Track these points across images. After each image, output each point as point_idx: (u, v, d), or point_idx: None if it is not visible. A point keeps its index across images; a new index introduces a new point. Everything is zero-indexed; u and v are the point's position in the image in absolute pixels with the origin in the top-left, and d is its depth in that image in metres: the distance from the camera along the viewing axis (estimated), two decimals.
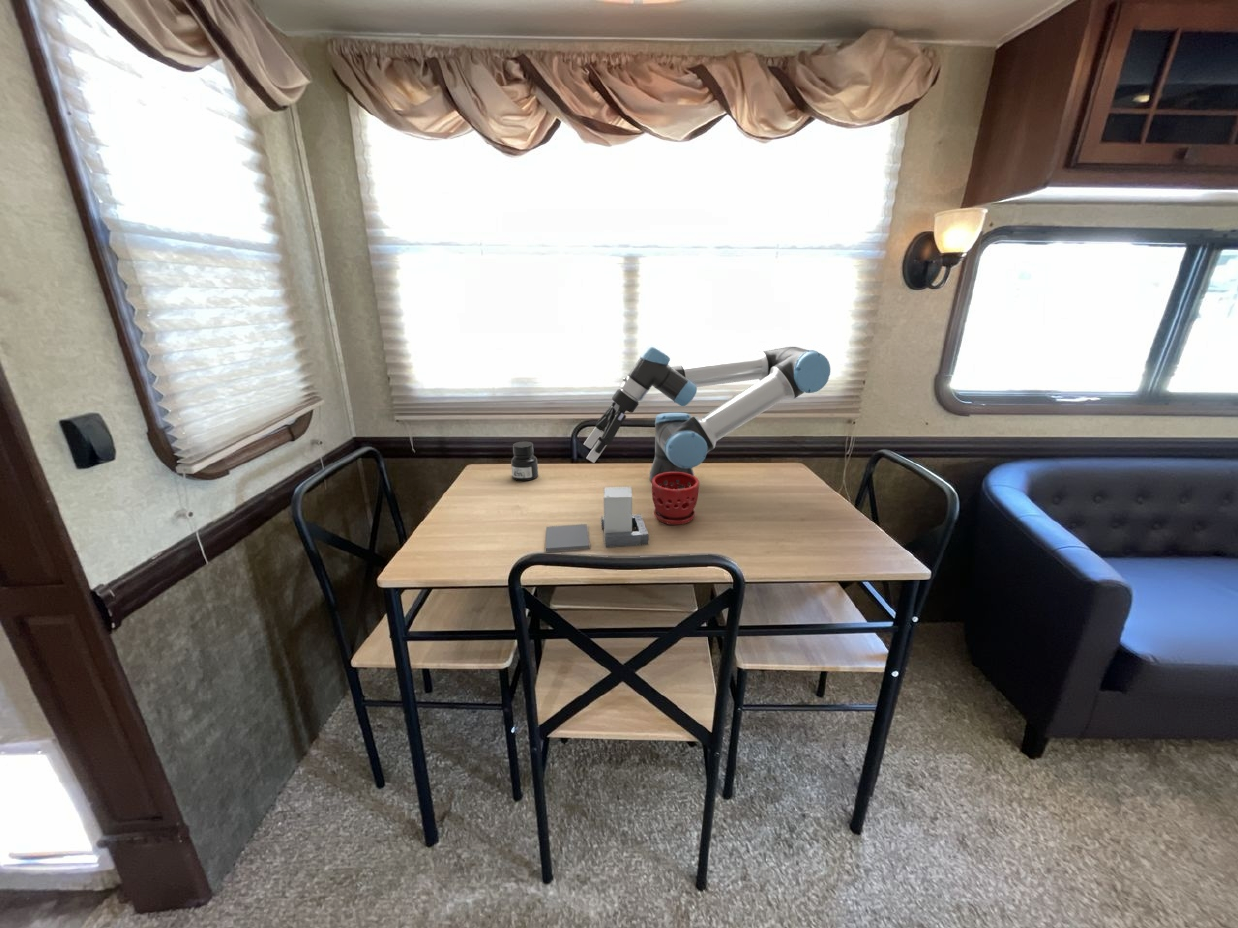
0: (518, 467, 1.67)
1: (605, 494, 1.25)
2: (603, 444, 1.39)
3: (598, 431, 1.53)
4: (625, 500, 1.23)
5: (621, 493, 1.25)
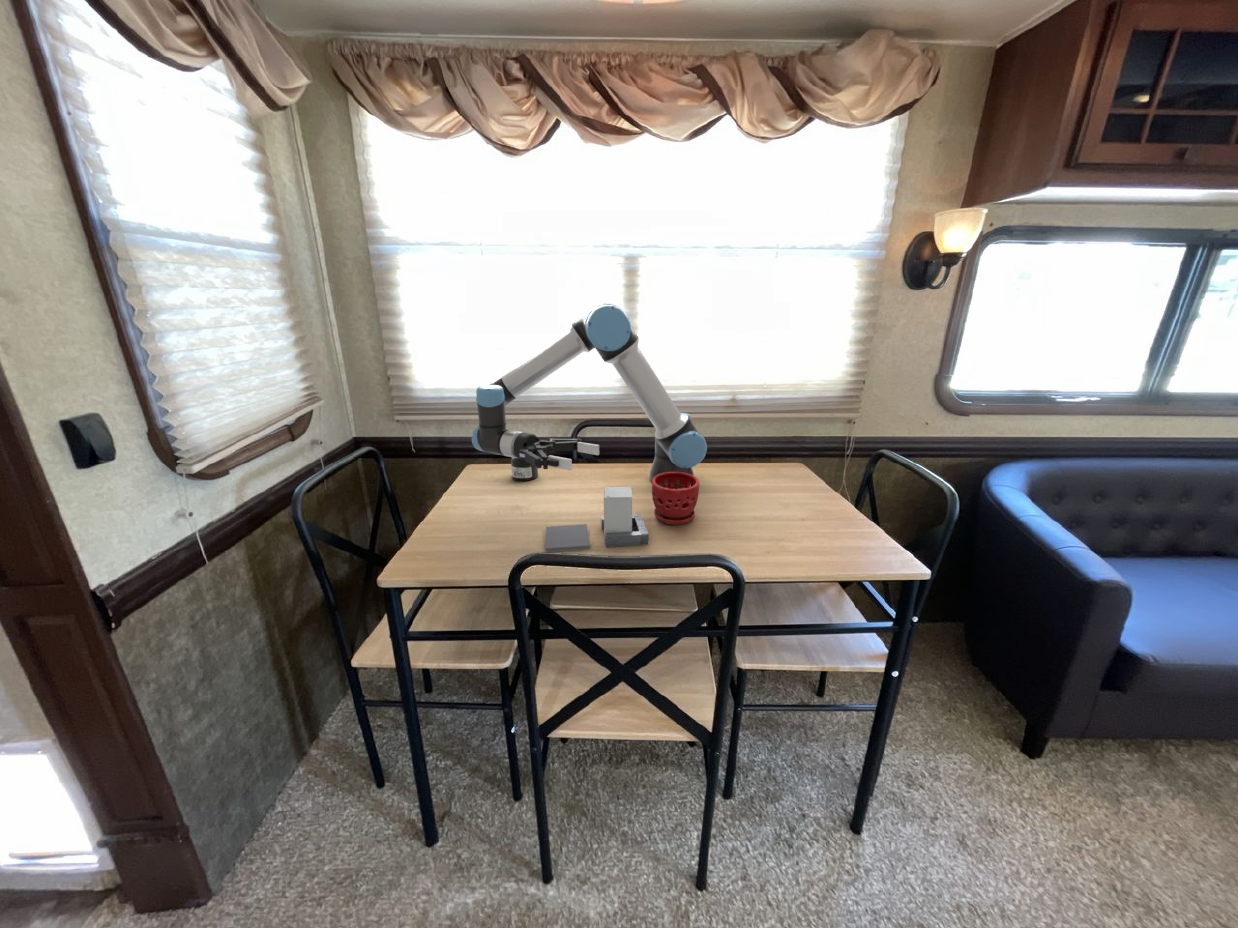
0: (518, 467, 1.67)
1: (605, 494, 1.25)
2: (546, 462, 1.24)
3: (579, 446, 1.36)
4: (625, 500, 1.23)
5: (621, 493, 1.25)
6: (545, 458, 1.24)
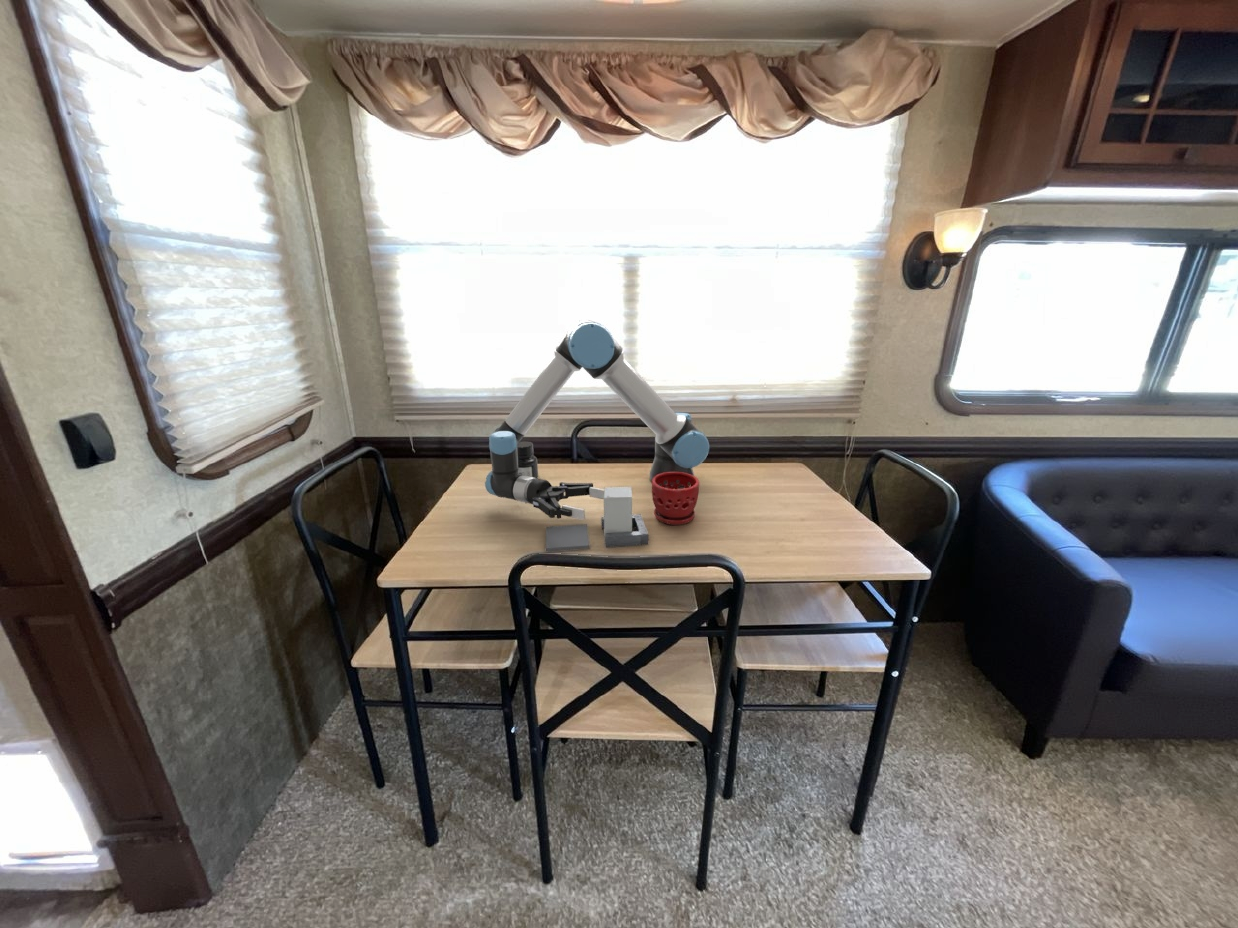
0: None
1: (605, 494, 1.25)
2: (559, 511, 1.26)
3: (590, 492, 1.38)
4: (625, 500, 1.23)
5: (621, 493, 1.25)
6: (558, 508, 1.26)
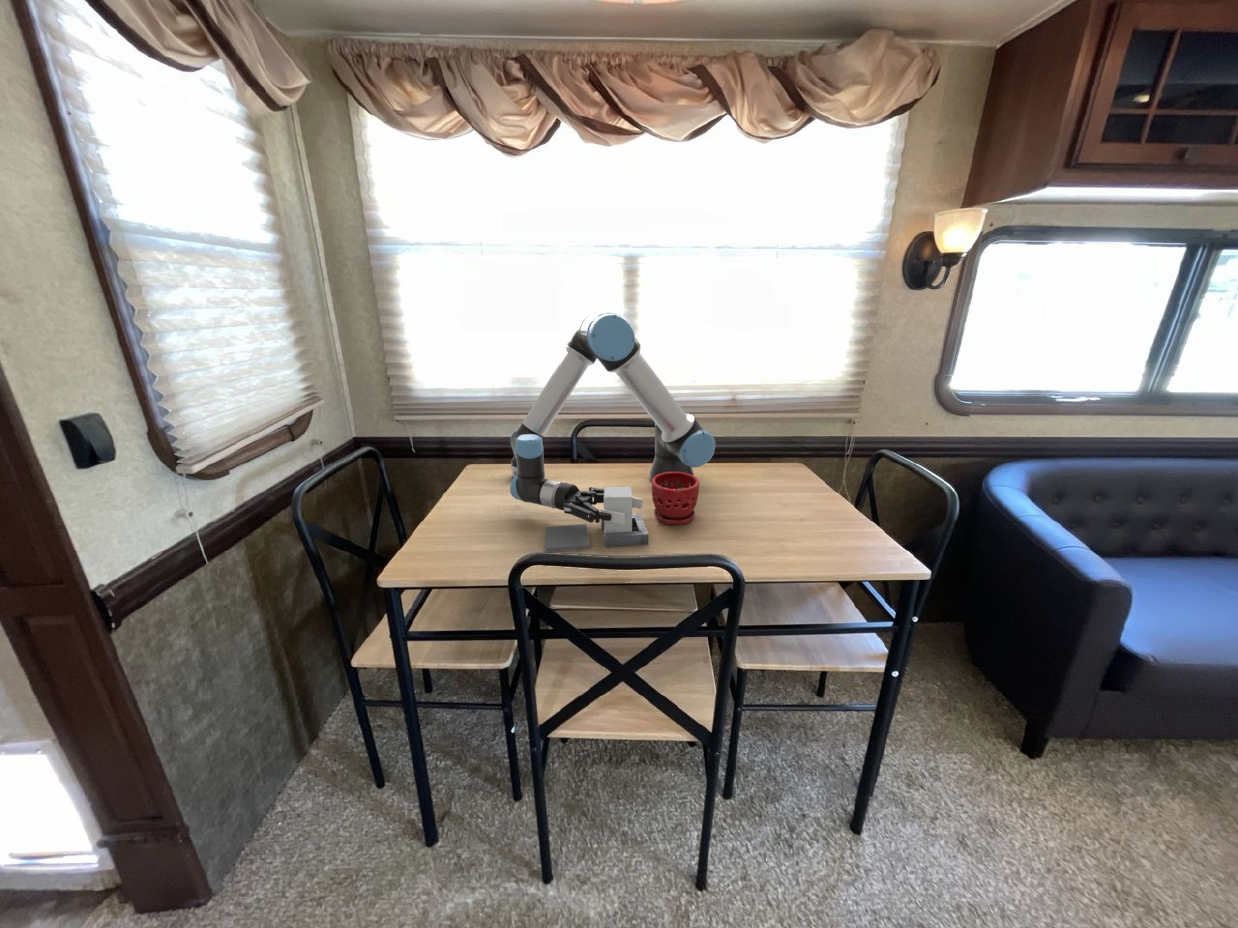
0: None
1: (605, 494, 1.25)
2: (598, 516, 1.23)
3: None
4: (625, 500, 1.23)
5: (621, 493, 1.25)
6: (597, 512, 1.23)
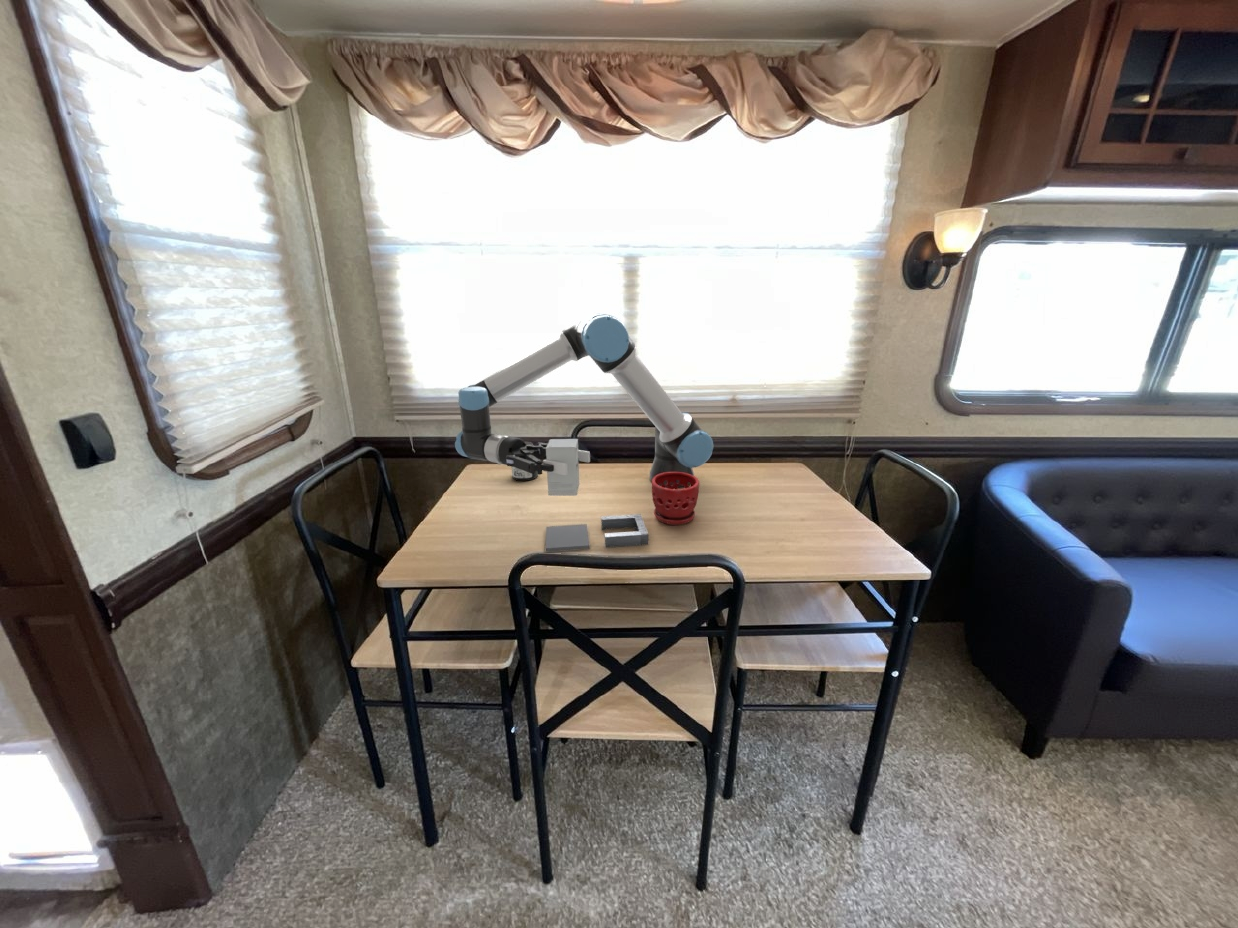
0: None
1: (548, 444, 1.19)
2: (540, 467, 1.17)
3: None
4: (569, 450, 1.17)
5: (565, 444, 1.19)
6: (539, 463, 1.17)
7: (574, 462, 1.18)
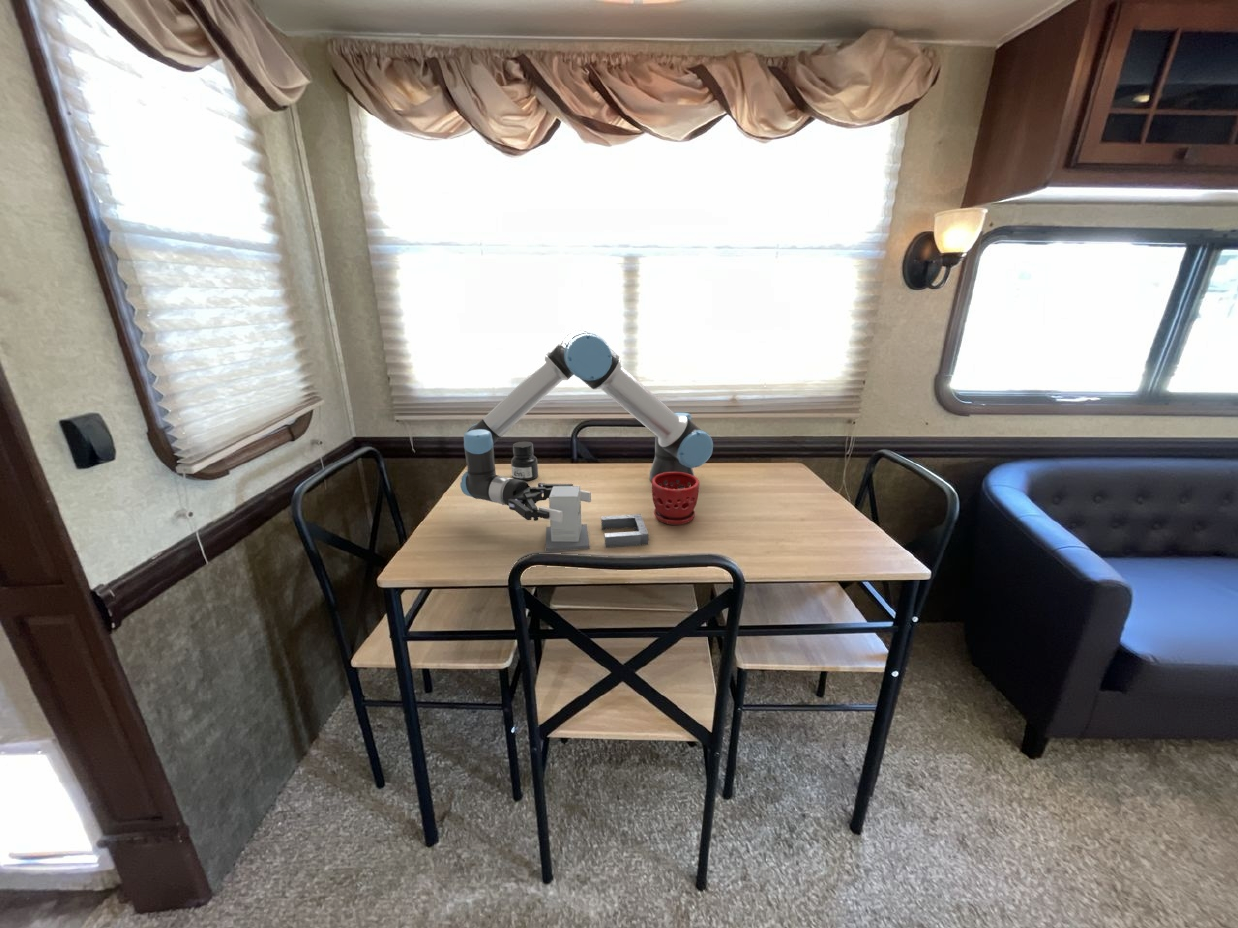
0: (518, 467, 1.67)
1: (551, 493, 1.23)
2: (536, 513, 1.20)
3: None
4: (571, 499, 1.22)
5: (567, 492, 1.23)
6: (535, 510, 1.20)
7: (576, 510, 1.23)
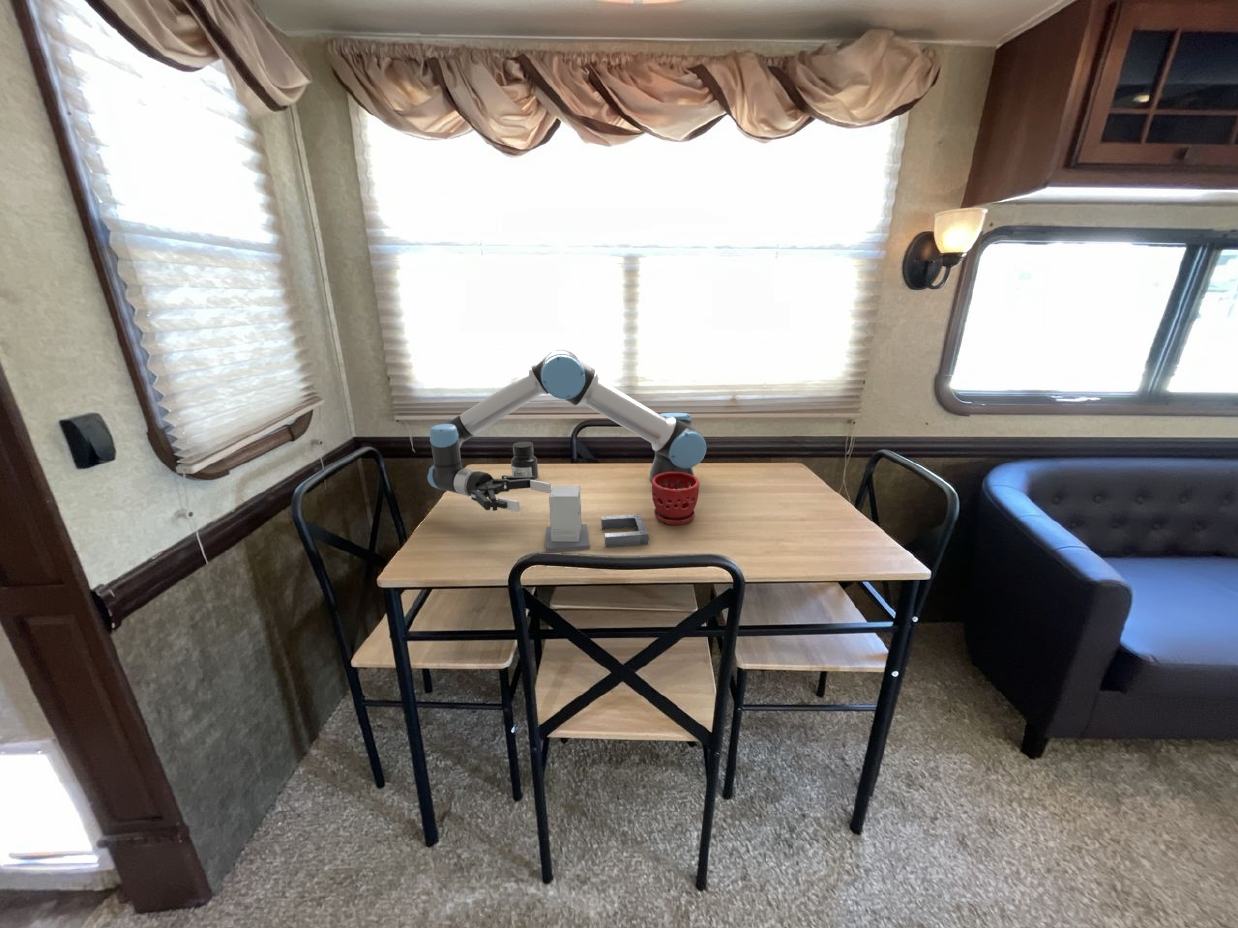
0: (518, 467, 1.67)
1: (551, 493, 1.23)
2: (494, 504, 1.26)
3: (531, 484, 1.38)
4: (571, 499, 1.22)
5: (567, 492, 1.23)
6: (494, 500, 1.26)
7: (576, 510, 1.23)
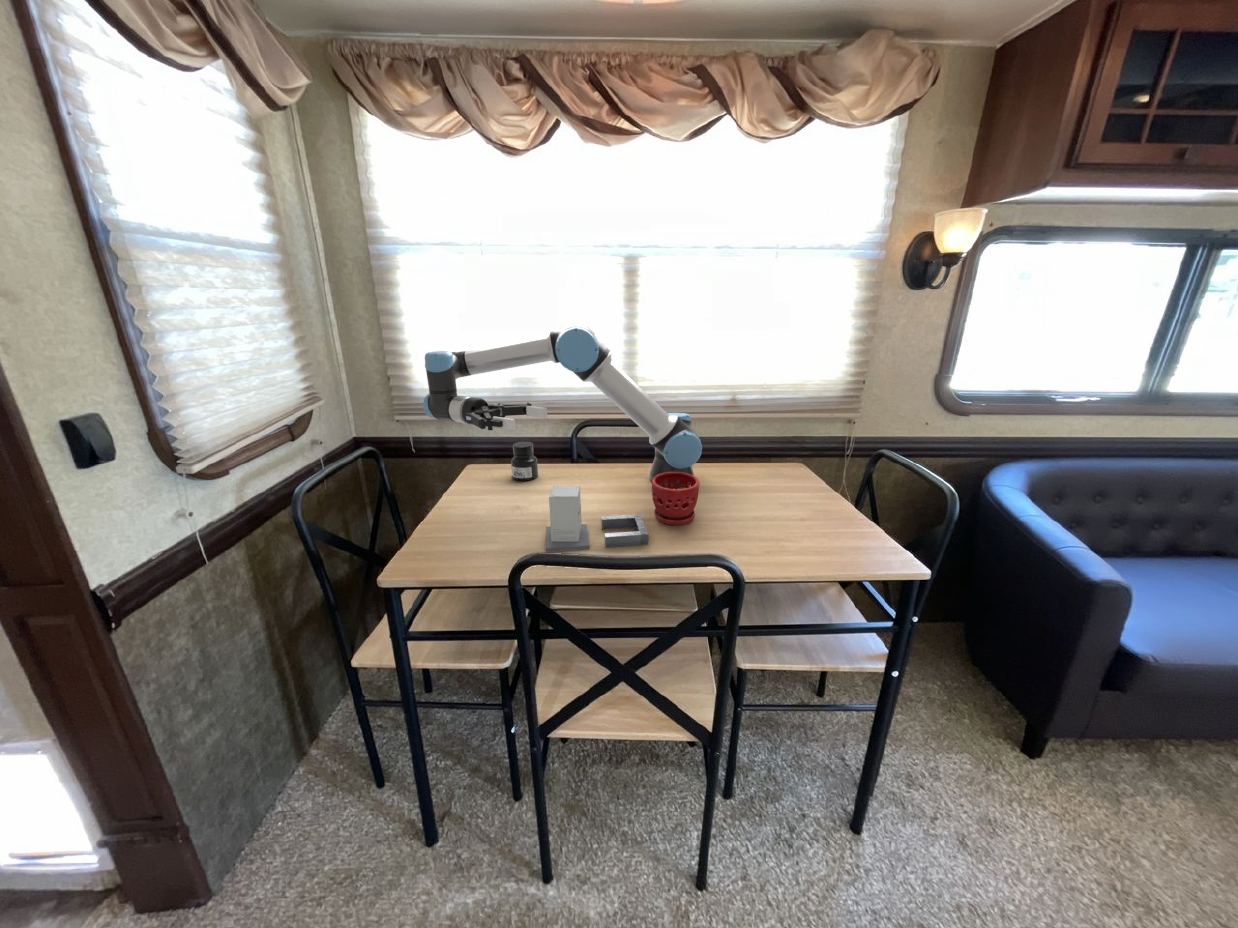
0: (518, 467, 1.67)
1: (551, 493, 1.23)
2: (490, 423, 1.24)
3: (527, 410, 1.37)
4: (571, 499, 1.22)
5: (567, 492, 1.23)
6: (489, 419, 1.25)
7: (576, 510, 1.23)
